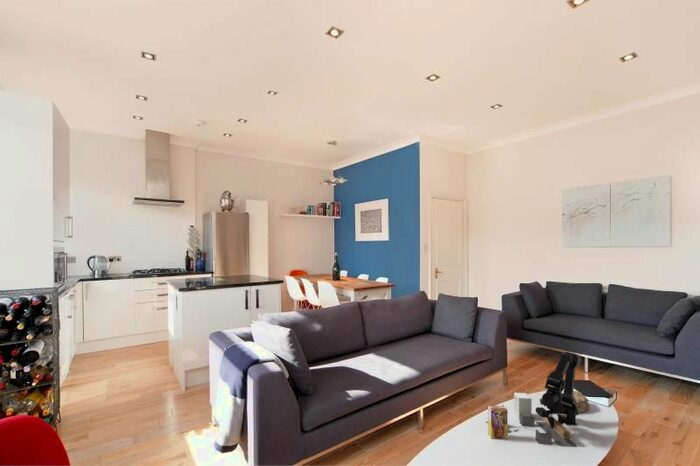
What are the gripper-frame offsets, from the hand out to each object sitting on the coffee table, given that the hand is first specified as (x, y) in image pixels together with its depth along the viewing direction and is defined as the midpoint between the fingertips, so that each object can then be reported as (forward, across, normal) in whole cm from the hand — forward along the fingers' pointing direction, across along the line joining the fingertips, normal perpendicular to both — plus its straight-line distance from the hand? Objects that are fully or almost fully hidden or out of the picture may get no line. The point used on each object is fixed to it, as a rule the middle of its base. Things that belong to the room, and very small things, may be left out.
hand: (555, 428), depth 178 cm
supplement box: (+3, +9, -17) cm, 19 cm away
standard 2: (+3, +11, +8) cm, 14 cm away
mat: (+3, 0, 0) cm, 3 cm away
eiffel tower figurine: (+4, +26, -6) cm, 27 cm away
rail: (0, 0, 0) cm, 0 cm away
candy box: (+3, +33, +4) cm, 33 cm away
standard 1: (+3, +11, -8) cm, 14 cm away
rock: (+3, -29, -30) cm, 42 cm away
